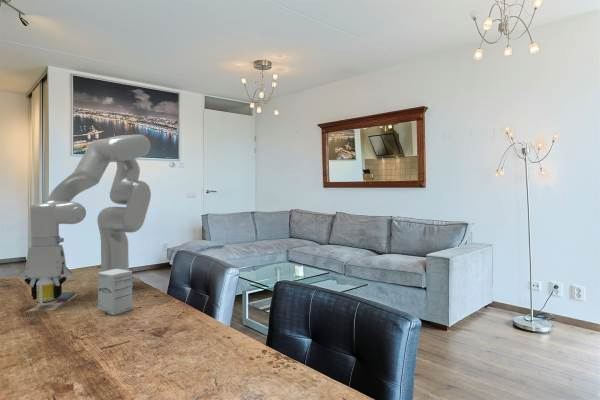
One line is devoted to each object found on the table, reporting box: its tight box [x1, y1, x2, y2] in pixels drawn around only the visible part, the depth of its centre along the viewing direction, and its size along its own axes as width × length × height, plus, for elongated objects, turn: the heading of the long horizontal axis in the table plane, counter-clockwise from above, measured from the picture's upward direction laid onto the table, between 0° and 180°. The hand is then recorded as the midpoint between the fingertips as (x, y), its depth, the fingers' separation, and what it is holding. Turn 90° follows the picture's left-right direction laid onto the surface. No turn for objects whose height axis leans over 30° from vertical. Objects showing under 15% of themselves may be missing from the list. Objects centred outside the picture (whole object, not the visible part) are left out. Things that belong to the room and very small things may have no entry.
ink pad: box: [56, 291, 76, 303], centre depth 133 cm, size 8×8×1 cm
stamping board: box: [23, 294, 77, 314], centre depth 128 cm, size 9×18×1 cm, turn 12°
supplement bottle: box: [36, 277, 57, 305], centre depth 124 cm, size 5×5×10 cm
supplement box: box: [97, 269, 133, 316], centre depth 123 cm, size 7×7×13 cm
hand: (46, 297), depth 124 cm, fingers closed on supplement bottle, 5 cm apart
